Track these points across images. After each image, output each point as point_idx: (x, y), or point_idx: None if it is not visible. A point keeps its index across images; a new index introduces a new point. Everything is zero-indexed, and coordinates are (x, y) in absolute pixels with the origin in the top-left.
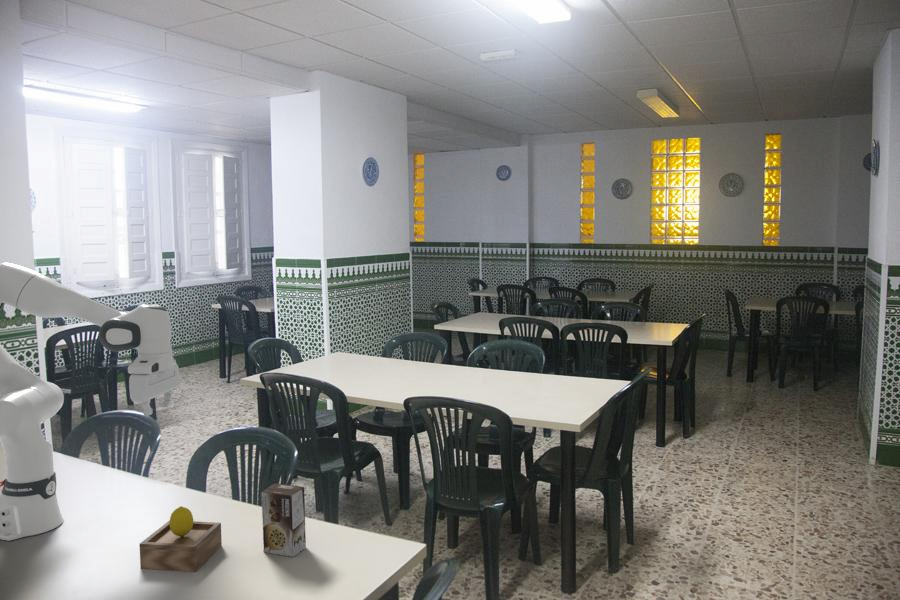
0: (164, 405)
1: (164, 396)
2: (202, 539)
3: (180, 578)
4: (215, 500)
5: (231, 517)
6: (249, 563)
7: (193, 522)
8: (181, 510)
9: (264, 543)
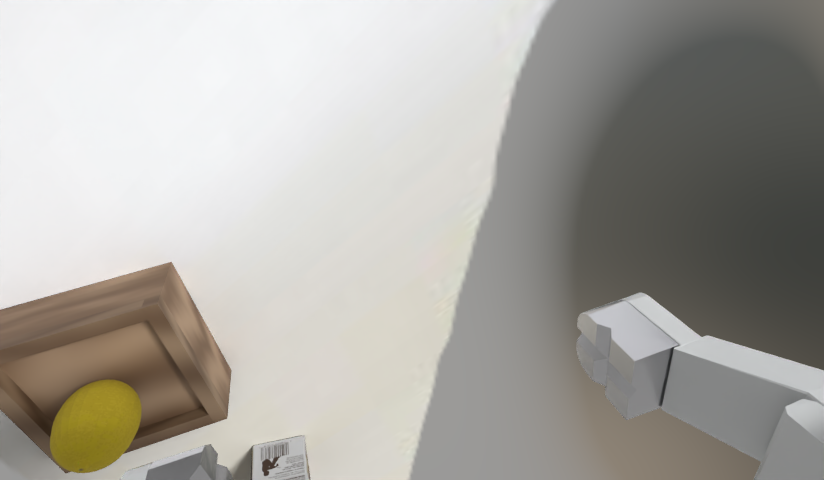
0: (590, 339)
1: (740, 379)
2: None
3: None
4: (474, 160)
5: (382, 279)
6: None
7: (186, 368)
8: (75, 471)
9: (251, 466)
